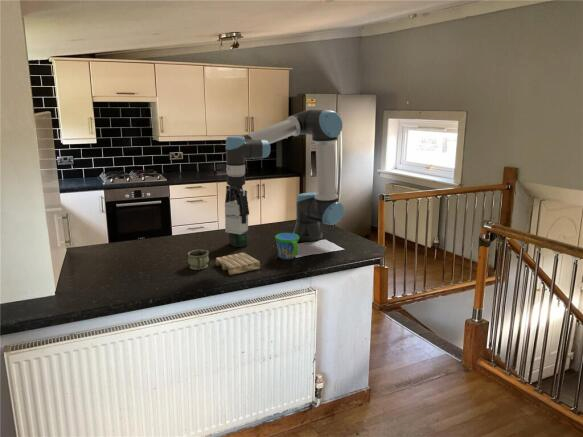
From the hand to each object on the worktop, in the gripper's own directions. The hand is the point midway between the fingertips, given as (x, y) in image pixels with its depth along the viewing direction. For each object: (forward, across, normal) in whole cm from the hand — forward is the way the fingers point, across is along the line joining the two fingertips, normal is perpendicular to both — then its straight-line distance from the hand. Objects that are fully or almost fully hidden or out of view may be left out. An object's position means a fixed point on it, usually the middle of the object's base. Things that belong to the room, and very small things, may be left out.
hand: (236, 227), depth 194 cm
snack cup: (+18, +2, +24) cm, 30 cm away
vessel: (+18, -9, -14) cm, 24 cm away
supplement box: (+2, 0, 0) cm, 2 cm away
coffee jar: (+18, -26, +14) cm, 34 cm away
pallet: (+17, 0, 0) cm, 17 cm away
